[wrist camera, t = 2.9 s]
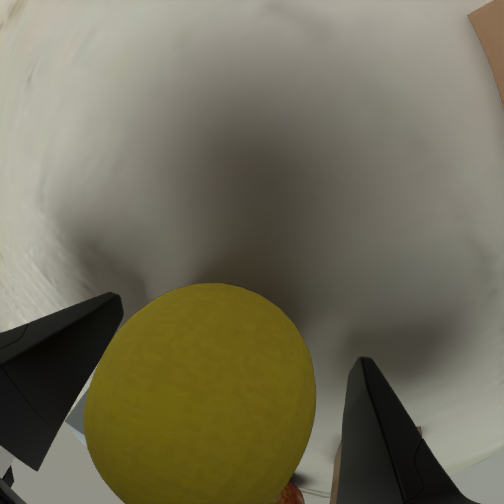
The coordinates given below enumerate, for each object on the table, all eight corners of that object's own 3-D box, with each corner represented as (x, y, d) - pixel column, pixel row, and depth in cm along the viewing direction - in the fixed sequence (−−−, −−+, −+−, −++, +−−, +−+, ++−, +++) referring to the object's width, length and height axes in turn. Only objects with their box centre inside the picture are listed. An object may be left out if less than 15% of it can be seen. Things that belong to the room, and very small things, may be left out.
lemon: (251, 375, 11) (195, 541, 4) (150, 298, 11) (31, 454, 4) (353, 313, 9) (350, 564, 2) (230, 200, 8) (5, 459, 1)
